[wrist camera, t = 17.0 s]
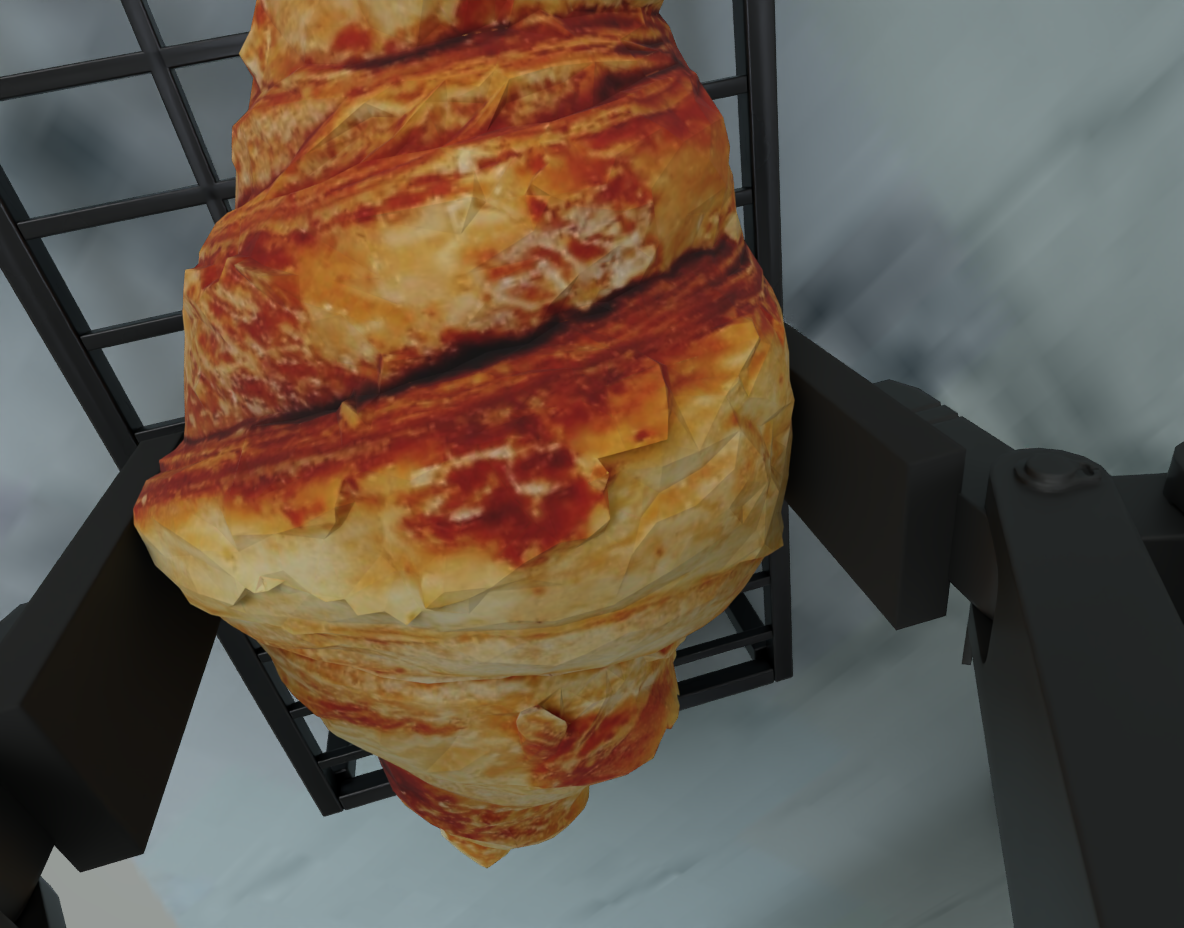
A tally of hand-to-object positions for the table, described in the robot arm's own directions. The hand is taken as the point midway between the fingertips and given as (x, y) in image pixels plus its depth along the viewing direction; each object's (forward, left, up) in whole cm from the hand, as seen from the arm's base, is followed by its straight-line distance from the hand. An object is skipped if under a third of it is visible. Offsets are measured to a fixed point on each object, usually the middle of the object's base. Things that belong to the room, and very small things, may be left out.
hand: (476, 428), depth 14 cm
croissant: (0, 0, 0) cm, 0 cm away
